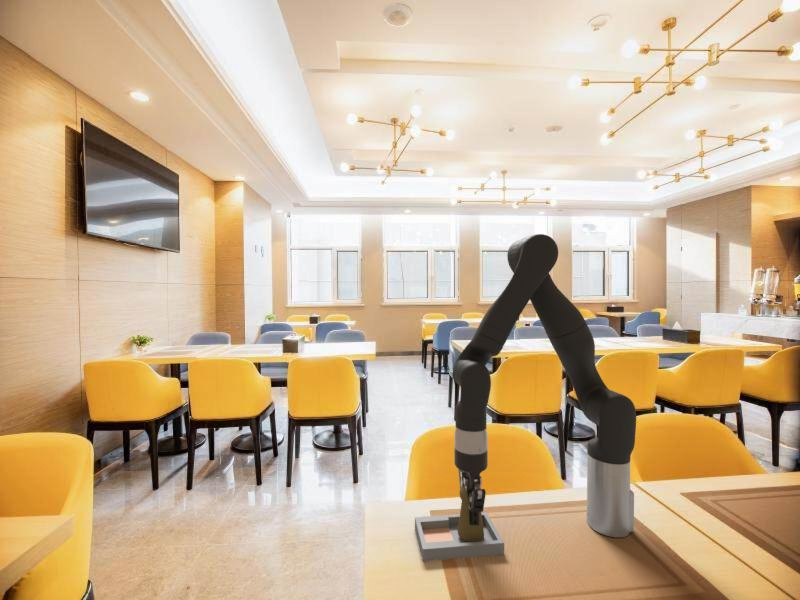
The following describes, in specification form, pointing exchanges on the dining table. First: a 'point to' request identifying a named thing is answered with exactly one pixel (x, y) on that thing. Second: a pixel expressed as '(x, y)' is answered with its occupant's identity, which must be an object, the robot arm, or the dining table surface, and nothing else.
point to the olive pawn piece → (464, 528)
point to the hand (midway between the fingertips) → (470, 518)
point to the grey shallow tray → (454, 538)
